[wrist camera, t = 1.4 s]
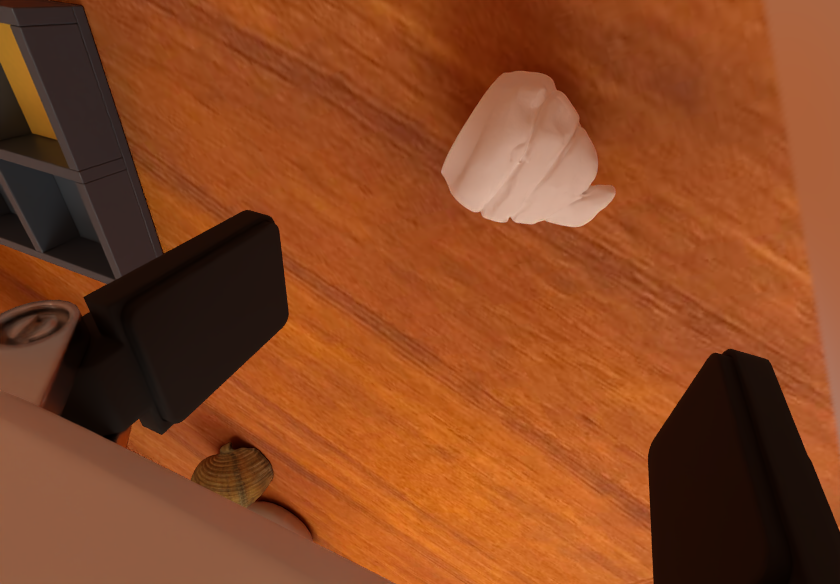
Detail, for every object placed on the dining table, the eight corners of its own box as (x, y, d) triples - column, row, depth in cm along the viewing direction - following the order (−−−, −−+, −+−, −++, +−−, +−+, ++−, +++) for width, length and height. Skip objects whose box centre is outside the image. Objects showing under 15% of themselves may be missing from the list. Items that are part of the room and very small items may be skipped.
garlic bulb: (564, 233, 20) (547, 295, 16) (459, 162, 20) (416, 206, 16) (653, 133, 17) (662, 179, 13) (526, 47, 17) (493, 65, 13)
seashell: (264, 413, 49) (185, 429, 45) (280, 461, 44) (194, 485, 40) (259, 469, 54) (187, 489, 50) (274, 519, 49) (195, 546, 45)
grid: (-111, -25, 28) (-191, -27, 25) (82, 5, 24) (11, 7, 21) (17, 215, 38) (-30, 232, 36) (167, 268, 34) (127, 292, 31)
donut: (257, 521, 58) (320, 555, 56) (239, 546, 56) (304, 583, 53) (247, 483, 52) (316, 519, 50) (226, 508, 50) (299, 548, 47)
